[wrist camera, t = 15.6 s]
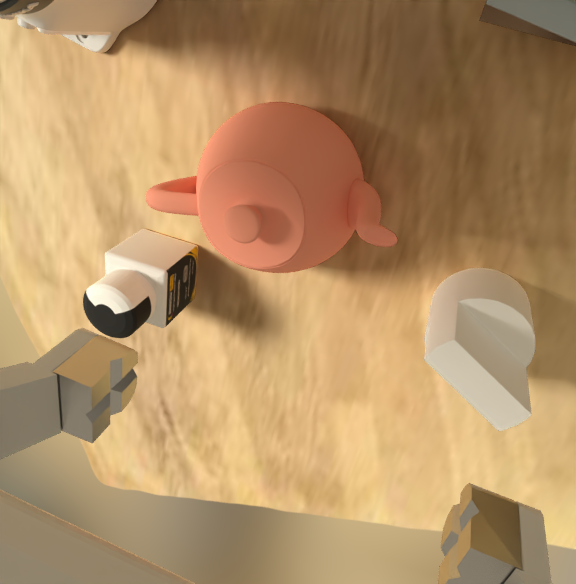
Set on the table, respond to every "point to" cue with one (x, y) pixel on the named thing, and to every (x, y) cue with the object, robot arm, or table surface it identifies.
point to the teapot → (278, 190)
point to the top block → (543, 14)
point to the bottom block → (517, 24)
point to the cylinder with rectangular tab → (483, 342)
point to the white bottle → (142, 284)
